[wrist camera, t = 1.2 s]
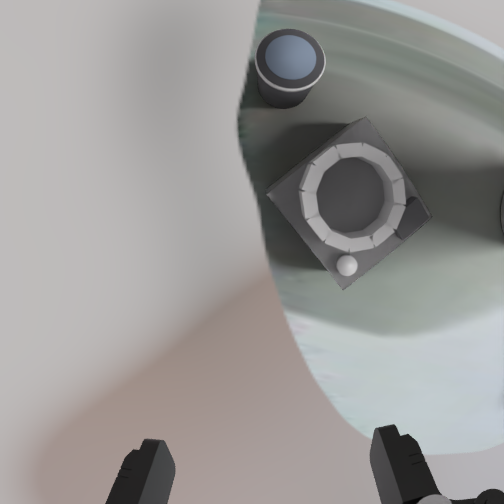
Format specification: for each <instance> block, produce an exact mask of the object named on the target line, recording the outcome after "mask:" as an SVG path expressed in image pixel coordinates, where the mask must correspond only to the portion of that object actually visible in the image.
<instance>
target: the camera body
mask: <svg viewBox="0 0 504 504" xmlns="http://www.w3.org/2000/svg"><path fill="white" fill-rule="evenodd" d="M266 195H267V196H268V197H269V198H270V200H271V201H272V202H273V203H274V204H275V206H276V207H277V208H278V209H279V210H280V212H281V213H282V214H283V215H284V217H285V218H286V219H287V220H288V222H289V223H290V224H291V225H292V226H293V228H294V229H295V230H296V231H297V233H298V234H299V235H300V236H301V238H302V239H303V240H304V241H305V243H306V244H307V245H308V246H309V248H310V249H311V250H312V251H313V253H314V254H315V255H316V257H317V258H318V259H319V260H320V262H321V263H322V264H323V265H324V267H325V268H326V269H327V271H328V272H329V273H330V274H331V276H332V277H333V278H334V280H335V281H336V282H337V284H338V285H339V286H340V287H341V289H342V290H344V289H346V288H347V287H348V286H349V285H351V284H352V283H353V282H355V281H356V280H357V279H358V278H360V277H361V276H362V275H364V274H365V273H366V272H367V271H369V270H370V269H371V268H372V267H374V266H375V265H376V264H377V263H379V262H380V261H381V260H382V259H384V258H385V257H386V256H387V255H388V254H390V253H391V252H392V251H393V250H395V249H396V248H397V247H398V246H399V245H401V244H402V243H403V242H404V241H405V240H406V239H408V238H409V237H410V236H411V235H412V234H414V233H415V232H416V231H417V230H418V229H419V228H420V227H422V226H423V225H424V224H425V223H426V222H427V221H428V220H430V219H431V218H432V215H431V213H430V212H429V210H428V208H427V206H426V205H425V203H424V201H423V200H422V198H421V196H420V195H419V193H418V191H417V190H416V188H415V186H414V185H413V183H412V182H411V180H410V179H409V177H408V175H407V174H406V172H405V171H404V169H403V168H402V166H401V165H400V163H399V162H398V160H397V159H396V157H395V156H394V154H393V153H392V151H391V150H390V148H389V147H388V146H387V144H386V143H385V141H384V140H383V139H382V137H381V136H380V134H379V133H378V132H377V130H376V129H375V128H374V126H373V125H372V124H371V122H370V121H369V120H368V118H367V117H364V118H361V119H359V120H357V121H354V122H352V123H350V124H348V125H347V126H346V127H345V128H343V129H342V130H341V131H339V132H338V133H337V134H335V135H334V136H333V137H332V138H330V139H329V140H328V141H326V142H325V143H324V144H322V145H321V146H320V147H319V148H317V149H316V150H315V151H314V152H312V153H311V154H310V155H308V156H307V157H306V158H305V159H303V160H302V161H301V162H300V163H298V164H297V165H296V166H295V167H293V168H292V169H291V170H290V171H288V172H287V173H286V174H285V175H283V176H282V177H281V178H280V179H278V180H277V181H276V182H275V183H273V184H272V185H271V186H270V187H268V188H267V189H266Z"/></svg>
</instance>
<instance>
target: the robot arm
mask: <svg viewBox="0 0 504 504" xmlns="http://www.w3.org/2000/svg"><path fill="white" fill-rule="evenodd" d="M501 224H502V229H503V232H504V195H503V199H502V204H501ZM370 463H371V467H372V471H373V474H374V478H375V481H376V485H377V488H378V492H379V496H380V500H381V503H382V504H504V493H503V492H502V491H500V490H498V489H489V490H486V491H484V492H482V493H481V494H480V495H479V496H478V497H477V498H474V499H466V500H451V499H448V498H447V497H445V496H443V495H442V494H441V493H440V492H439V490H438V488H437V486H436V484H435V481H434V479H433V476H432V474H431V472H430V469H429V467H428V465H427V463H426V462H425V458H424V456H423V454H422V451H421V449H420V447H419V444H418V442H417V441H416V440H415V439H414V438H412V437H411V436H410V435H409V434H406V435H402V436H400V434H399V432H398V430H397V427H396V426H395V425H394V424H393V425H388V426H383V427H379V428H375V430H374V435H373V440H372V444H371V450H370ZM174 477H175V463H174V461H173V458H172V456H171V454H170V452H169V449H168V447H167V445H166V443H165V441H164V440H156V439H144V441H143V443H142V445H141V447H140V450H132V451H131V452H130V453H129V454H128V455H127V456H126V457H125V459H124V461H123V463H122V466H121V469H120V470H119V473H118V477H117V478H116V480H115V482H114V484H113V487H112V489H111V492H110V494H109V496H108V499H107V501H106V503H105V504H167V502H168V499H169V495H170V491H171V487H172V484H173V480H174Z"/></svg>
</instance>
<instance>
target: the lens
mask: <svg viewBox="0 0 504 504" xmlns="http://www.w3.org/2000/svg"><path fill="white" fill-rule="evenodd" d="M255 65H256V69H257V78H258V89H259V93H260V95H261V96H262V98H263V99H264V100H265V101H266V102H267V103H268V104H270V105H272V106H274V107H277V108H283V109H286V108H292V107H295V106H297V105H298V104H300V103H301V102H302V101H303V100H304V99H305V97H306V96H307V94H308V93H309V91H310V90H311V88H312V87H313V85H314V84H315V83H316V82H317V81H318V80H319V78H320V77H321V75H322V74H323V72H324V69H325V54H324V51H323V49H322V47H321V46H320V44H319V43H318V42H317V41H316V40H315V39H314V38H313V37H312V36H310V35H309V34H307V33H305V32H302V31H299V30H295V29H281V30H277V31H274V32H271V33H270V34H268V35H267V36H265V37H264V38H263V39H262V40H261V41H260V43H259V44H258V46H257V49H256V52H255Z"/></svg>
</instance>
